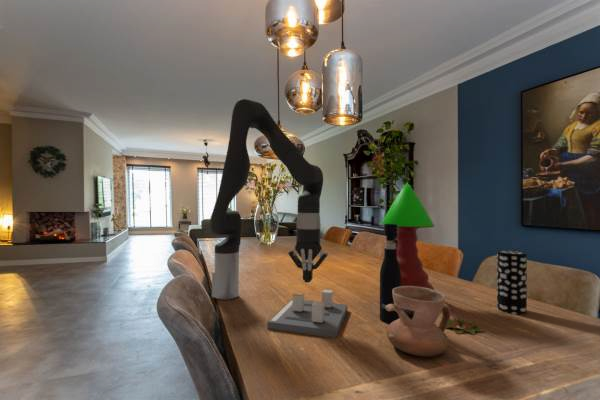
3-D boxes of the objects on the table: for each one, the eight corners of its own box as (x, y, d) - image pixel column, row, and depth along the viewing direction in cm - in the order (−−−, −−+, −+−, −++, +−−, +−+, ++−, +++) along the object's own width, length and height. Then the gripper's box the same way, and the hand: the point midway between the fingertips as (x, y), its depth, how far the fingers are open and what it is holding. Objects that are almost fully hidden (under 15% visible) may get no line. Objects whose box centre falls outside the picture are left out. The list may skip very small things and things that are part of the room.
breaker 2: (321, 306, 99) (322, 291, 99) (323, 303, 102) (323, 289, 102) (330, 307, 98) (331, 292, 98) (332, 304, 101) (332, 290, 101)
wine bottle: (401, 317, 97) (401, 223, 97) (400, 325, 90) (401, 225, 91) (380, 315, 99) (380, 223, 99) (378, 322, 93) (379, 224, 93)
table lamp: (370, 297, 118) (370, 182, 118) (397, 288, 131) (398, 184, 131) (418, 310, 103) (418, 179, 103) (443, 299, 116) (444, 182, 116)
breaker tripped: (292, 310, 95) (292, 294, 95) (295, 307, 98) (295, 291, 98) (301, 311, 94) (301, 294, 94) (304, 308, 97) (304, 292, 97)
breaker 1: (311, 321, 86) (312, 304, 87) (314, 317, 89) (314, 301, 89) (322, 322, 86) (322, 305, 86) (324, 318, 88) (324, 302, 89)
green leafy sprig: (464, 319, 96) (464, 305, 96) (494, 336, 85) (494, 319, 85) (430, 321, 94) (430, 307, 94) (456, 339, 83) (456, 322, 83)
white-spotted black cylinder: (523, 308, 106) (523, 251, 106) (529, 316, 98) (529, 255, 99) (495, 304, 109) (495, 249, 110) (499, 312, 102) (499, 253, 102)
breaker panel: (267, 328, 87) (267, 321, 87) (291, 304, 108) (291, 298, 108) (335, 338, 81) (335, 330, 81) (347, 310, 102) (347, 304, 102)
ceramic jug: (399, 366, 67) (401, 303, 68) (372, 337, 82) (374, 284, 82) (470, 361, 71) (472, 300, 71) (432, 334, 85) (434, 283, 85)
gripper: (284, 227, 94) (284, 282, 94) (326, 228, 90) (325, 286, 90) (292, 225, 101) (291, 277, 101) (331, 226, 97) (330, 280, 97)
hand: (307, 281), depth 95 cm, fingers closed
